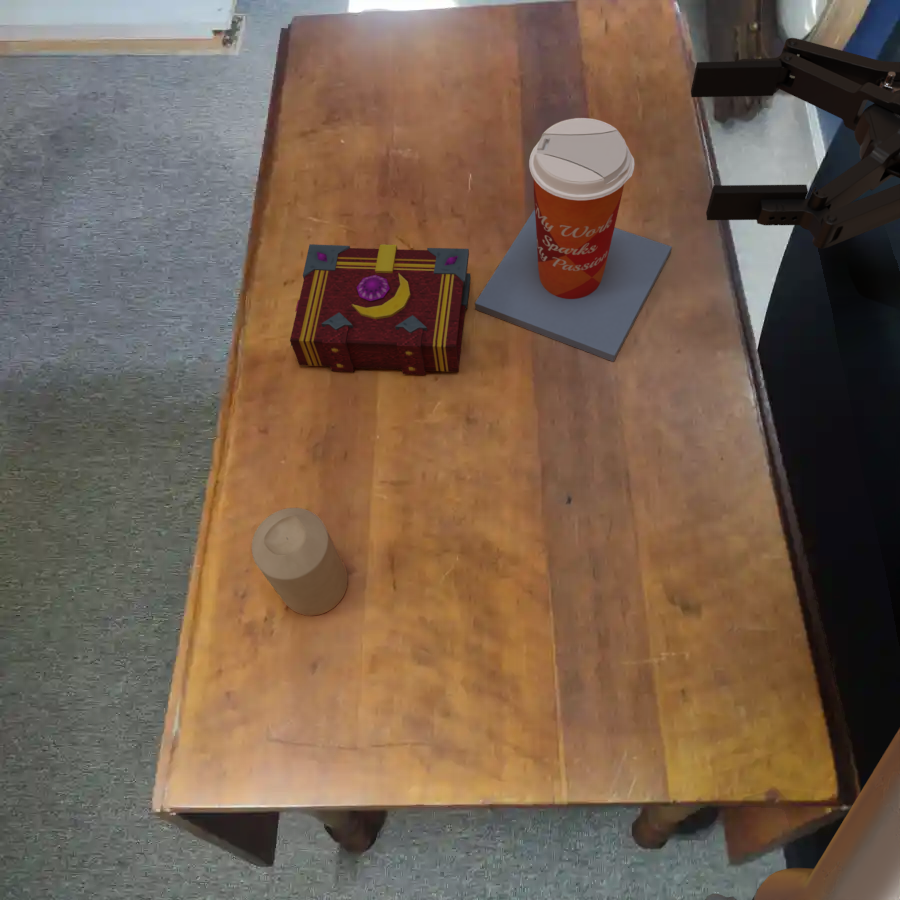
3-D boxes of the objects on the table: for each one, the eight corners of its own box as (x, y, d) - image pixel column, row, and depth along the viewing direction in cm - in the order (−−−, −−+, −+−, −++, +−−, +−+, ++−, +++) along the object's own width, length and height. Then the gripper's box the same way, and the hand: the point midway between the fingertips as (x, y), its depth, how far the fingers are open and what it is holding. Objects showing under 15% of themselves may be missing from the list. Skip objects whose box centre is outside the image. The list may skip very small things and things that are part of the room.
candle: (305, 540, 70) (275, 486, 61) (361, 570, 68) (338, 519, 59) (266, 596, 67) (229, 549, 59) (323, 629, 66) (294, 585, 57)
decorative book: (460, 377, 76) (456, 345, 72) (286, 370, 78) (272, 337, 74) (471, 279, 82) (468, 243, 77) (308, 274, 83) (296, 239, 79)
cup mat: (613, 362, 76) (614, 355, 75) (475, 309, 80) (474, 302, 79) (670, 253, 81) (672, 246, 81) (538, 209, 85) (538, 202, 84)
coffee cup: (517, 300, 79) (518, 177, 66) (538, 234, 82) (542, 106, 69) (606, 316, 77) (625, 194, 64) (623, 249, 81) (645, 121, 68)
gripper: (1008, 297, 61) (707, 296, 62) (931, 69, 73) (680, 74, 74) (1068, 221, 54) (729, 224, 56) (973, -16, 66) (696, -8, 68)
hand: (701, 138), depth 65 cm, fingers open, 13 cm apart
